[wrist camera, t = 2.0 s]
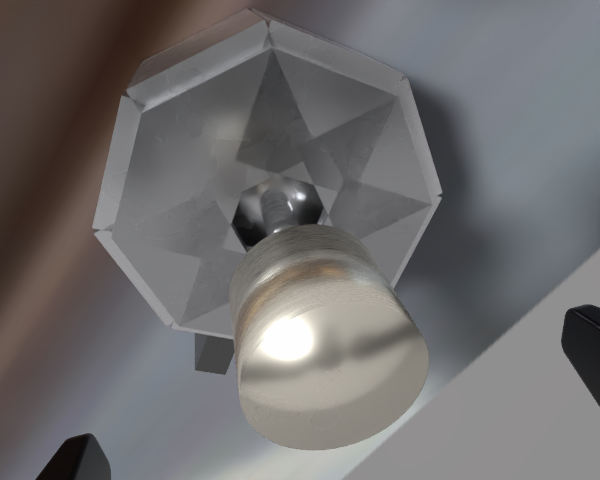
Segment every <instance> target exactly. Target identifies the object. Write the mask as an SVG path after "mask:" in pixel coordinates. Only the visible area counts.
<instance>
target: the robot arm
mask: <svg viewBox="0 0 600 480" xmlns="http://www.w3.org/2000/svg"><path fill="white" fill-rule="evenodd" d="M561 343H562V348H563V350H564V353H565V354H566V356H567V358H568V359H569V361H570V362H571V364H572V365H573V367H574V368H575V370H576V371H577V373H578V374H579V376H580V377H581V379H582V381H583V382H584V383H585V385H586V387H587V388H588V389H589V391H590V393H591V394H592V396H593V397H594V399H595V400H596V402H597V403H598V405H599V406H600V308H599V307H596V306H593V305H582V306H578V307H574V308H571V309H569V310H568V311H567V312H566V315H565V319H564V326H563V332H562V339H561ZM36 480H111V469H110V465H109V462H108V460H107V458H106V456H105V454H104V452H103V450H102V449H101V447H100V445H99V443H98V441H97V440H96V438H95V437H94V435H92V434H90V433H87V434H83V435H79V436H75V437H72V438H69V439H67V440H66V441H65V442H64V443H63V444H62V445H61V447H60V448H59V449H58V451H57V452H56V453H55V455H54V456H53V457H52V459H51V460H50V461H49V462H48V464H47V465H46V466H45V468H44V469H43V470H42V472H41V473H40V474H39V476H38V477H37V478H36Z"/></svg>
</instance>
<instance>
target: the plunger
mask: <svg viewBox="0 0 600 480" xmlns="http://www.w3.org/2000/svg"><path fill="white" fill-rule="evenodd" d="M323 208H324V207H323V205H322V202H321V200H320V198H319V196H318V194H317V192H316V189H315V187H314V185H313V184H310V183H307V182H303V181H300V180H297V179H293V178H290V177H287V176H283V175H280V174H277V175H275V176H273V177H271V178H269V179H267V180H265V181H263V182H261V183H259V184H257V185H255V186H253V187H251V188H249V189H247V190H244V191H243V192H242V194H241V197H240V200H239V203H238V206H237V209H236V212H235V214H234V217H233V220H232V222H233V224H234V226H235V227H236V229H237V231H238V232H239V234H240V236H241V237H242V239H243V241H244V243H245V244H246V245H247V246H251V247H253V248H252V249H250V250H249V251H248V252H247V254H246V255H245V256H244V257H243V258H242V260H241V261H240V263H239V264H238V266H237V267H236V270H235V272H234V274H233V276H232V280H231V283H230V289H229V304H230V314H231V323H232V332H233V341H234V351H235V360H236V369H237V379H238V388H239V397H240V403H241V408H242V410H243V413H244V415H245V417H246V419H247V420H248V422H249V423H250V425H251V426H252V427H253V428H254V429H255V430H256V431H257V432H258V433H260V434H261V435H262V436H263V437H265V438H267V439H269V440H270V441H272V442H274V443H277V444H279V445H282V446H286V447H289V448H294V449H301V450H327V449H334V448H339V447H344V446H348V445H351V444H354V443H357V442H360V441H362V440H365V439H367V438H369V437H371V436H373V435H375V434H377V433H379V432H381V431H382V430H384V429H385V428H387V427H388V426H390V425H391V424H392V423H394V422H395V421H396V420H398V419H399V418H400V417H401V416H402V415H403V414H404V413H405V412H406V411H407V410H408V409H409V408H410V406H411V405H412V404H413V403H414V401H415V400H416V398H417V397H418V395H419V394H420V392H421V390H422V388H423V386H424V383H425V380H426V378H427V373H428V368H429V355H428V349H427V345H426V342H425V340H424V338H423V336H422V334H421V333H420V331H419V329H418V328H417V326H416V325H415V323H414V321H413V320H412V318H411V317H410V315H409V313H408V312H407V310H406V309H405V307H404V306H403V304H402V302H401V301H400V299H399V298H398V296H397V294H396V293H395V291H394V290H393V288H392V286H391V285H390V283H389V282H388V280H387V279H386V277H385V275H384V274H383V272H382V271H381V269H380V267H379V266H378V264H377V263H376V261H375V259H374V258H373V256H372V255H371V253H370V252H369V250H368V249H367V248H366V246H365V245H364V244H363V243H362V242H361V241H360V240H359V239H357V238H356V237H355V236H353V235H352V234H350V233H348V232H346V231H344V230H341V229H338V228H336V227H332V226H327V225H317V222H318V220H319V218H320V215H321V213H322V211H323Z"/></svg>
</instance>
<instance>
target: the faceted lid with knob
mask: <svg viewBox="0 0 600 480" xmlns="http://www.w3.org/2000/svg"><path fill="white" fill-rule="evenodd" d="M403 74H404V73H402V72H399V71H397V70H395V69H393V68H391V67H389V66H387V65H385V64H383V63H381V62H379V61H377V60H375V59H372V58H370V57H368V56H366V55H364V54H362V53H360V52H358V51H356V50H354V49H351V48H349V47H346V46H344V45H341V44H339V43H337V42H334V41H332V40H329V39H327V38H324V37H322V36H320V35H317V34H315V33H312V32H310V31H307V30H305V29H303V28H300V27H298V26H295V25H293V24H290V23H288V22H286V21H283V20H281V19H278V18H276V17H273V16H271V15H269V14H266V13H264V12H261V11H259V10H256V9H254V8H252V10H251V11H250V10H249V9H247V8H245V9H243V10H241V11H240V12H238V13H236V14H234V15H232V16H230V17H228V18H226V19H224V20H222V21H220V22H218V23H216V24H214V25H212V26H210V27H208V28H206V29H204V30H202V31H200V32H198V33H196V34H194V35H192V36H190V37H188V38H187V39H185V40H183V41H181V42H179V43H177V44H175V45H173V46H171V47H169V48H167V49H165V50H163V51H161V52H159V53H157V54H155V55H153V56H151V57H149V58H147V59H145V60H143V61H142V63H141V65H139V67H138V69H137V70H136V72H135V74H134V75H133V77H132V79H131V80H130V82H129V84H128V86H127V87H126V89H125V91H124V92H123V94H122V96H121V101H120V105H119V110H118V114H117V119H116V123H115V128H114V132H113V137H112V141H111V146H110V150H109V155H108V159H107V164H106V168H105V173H104V177H103V182H102V186H101V191H100V195H99V200H98V204H97V209H96V213H95V218H94V222H93V227H92V228H95V231H94V235H95V236H96V237H97V238H98V240H99V241H100V242H101V244H102V245H103V246H104V247H105V249H106V250H107V251H108V252H109V254H110V255H111V256H112V258H113V259H114V260H115V261H116V263H117V264H118V265H119V266H120V268H121V269H122V270H123V272H124V273H125V274H126V275H127V277H128V278H129V279H130V280H131V282H132V283H133V284H134V285H135V287H136V288H137V289H138V291H139V292H140V293H141V294H142V296H143V297H144V298H145V299H146V301H147V302H148V303H149V305H150V306H151V307H152V308H153V310H154V311H155V312H156V313H157V315H158V316H159V317H160V319H161V320H162V321H163V322H164V324H165V325H166V326H167V325H169V324H171V329H176V330H182V331H188V332H194V333H195V370H197V371H204V372H211V373H217V374H224V375H225V374H226V372H227V369H228V367H229V364H230V362H231V359H232V357H233V354H234V352H235V351H234V341H233V332H232V323H231V314H230V304H229V289H230V283H231V280H232V276H233V274H234V272H235V270H236V267H237V266H238V264H239V263H240V261H241V260H242V258H243V257H244V256H245V255H246V254H247V252H248V251H249V250H250V249H252V248H253V247H251V246H247V245H246V244H245V243H244V241H243V239H242V237H241V236H240V234H239V232H238V231H237V229H236V227H235V226H234V224H233V222H232V220H233V217H234V214H235V212H236V209H237V206H238V203H239V200H240V197H241V194H242V192H243V191H244V190H247V189H249V188H251V187H253V186H255V185H257V184H259V183H261V182H263V181H265V180H267V179H269V178H271V177H273V176H275V175H277V174H280V175H283V176H287V177H290V178H293V179H297V180H300V181H303V182H307V183H310V184H313V185H314V187H315V189H316V192H317V194H318V196H319V198H320V200H321V202H322V205H323V207H324V208H323V211H322V213H321V215H320V218H319V220H318V222H317V225H327V226H332V227H336V228H338V229H341V230H344V231H346V232H348V233H350V234H352V235H353V236H355V237H356V238H357V239H359V240H360V241H361V242H362V243H363V244H364V245H365V246H366V248H367V249H368V250H369V252H370V253H371V255H372V256H373V258H374V259H375V261H376V263H377V264H378V266H379V267H380V269H381V271H382V272H383V274H384V275H385V277H386V279H387V280H388V282H389V283H390V285H391V286H392V288H393V289H394V287H395V286H396V284H397V282H398V280H399V278H400V276H401V274H402V272H403V271H404V269H405V267H406V265H407V263H408V261H409V259H410V257H411V255H412V254H413V252H414V250H415V248H416V246H417V244H418V242H419V240H420V239H421V237H422V235H423V233H424V231H425V229H426V227H427V225H428V223H429V222H430V220H431V218H432V216H433V214H434V212H435V210H436V208H437V207H438V205H439V203H440V201H441V199H442V198H441V197H440V196H439V194H441V193H443V192H442V189H441V186H440V182H439V179H438V176H437V173H436V169H435V166H434V163H433V159H432V156H431V153H430V149H429V146H428V143H427V140H426V136H425V133H424V130H423V126H422V123H421V120H420V117H419V113H418V110H417V107H416V103H415V100H414V97H413V94H412V90H411V87H410V84H409V80H408V78H406V77H404V76H403Z"/></svg>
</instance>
